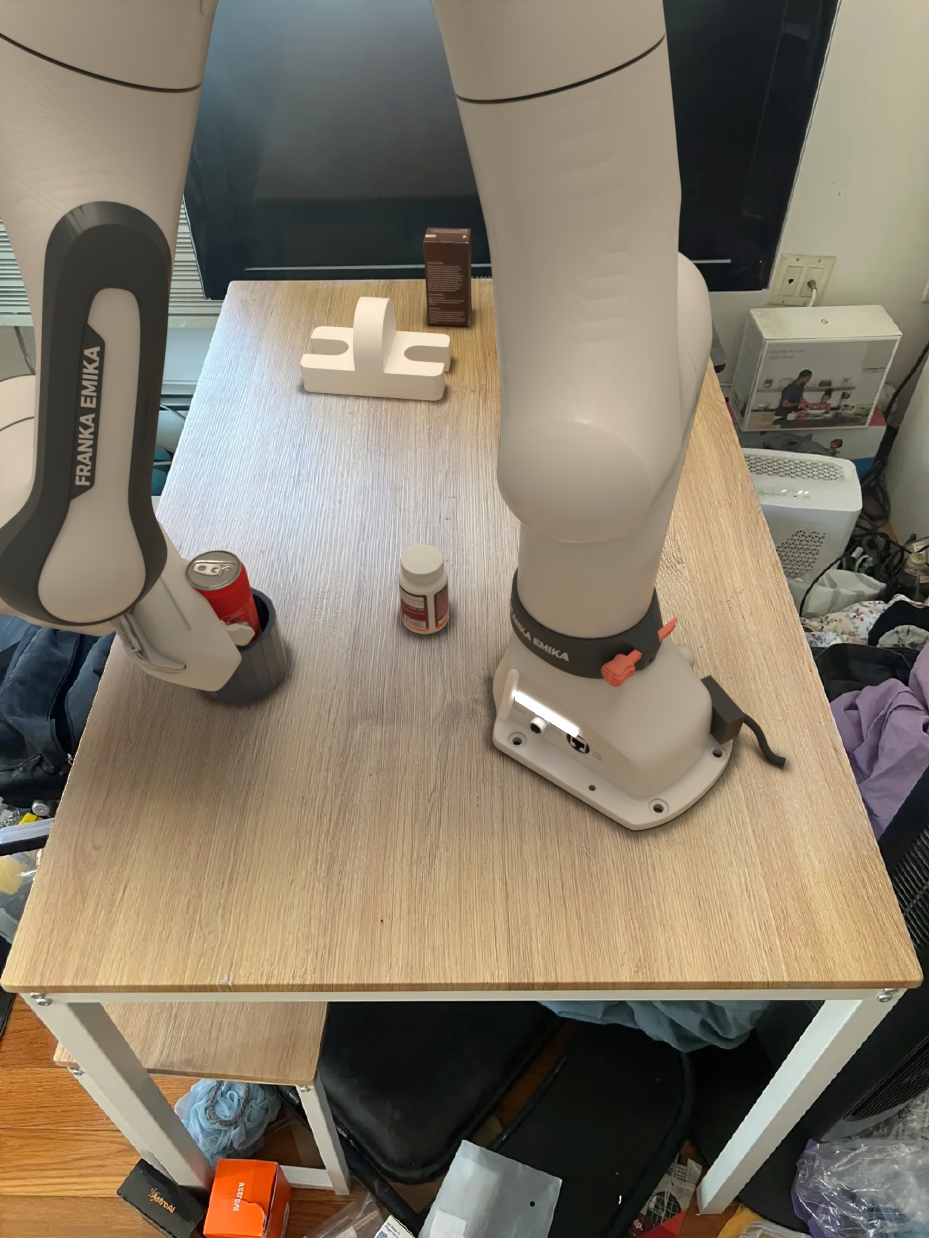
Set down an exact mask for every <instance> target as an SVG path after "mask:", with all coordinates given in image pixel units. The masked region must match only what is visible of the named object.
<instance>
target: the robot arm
mask: <svg viewBox="0 0 929 1238" xmlns="http://www.w3.org/2000/svg"><path fill="white" fill-rule="evenodd" d="M219 1H220V0H0V219H1V223H2V225H3V227H4V230H5V233H6V236H7V238H8V241H9V244H10V247H11V249H12V252H13V256H14V258H15V261H16V264H17V267H18V270H19V274H20V276H21V277H20V278H21V279H22V280H21V281H22V283H23V287H24V290H25V294H26V298H27V302H28V306H29V310H30V316H31V320H32V325H33V327H32V328H33V333H34V343H35V373H23V374H17V375H12V376H9V377H8V376H7V377H6V378H3V379H0V616H12V617H16V618H19V619H22V620H23V621H25V622H27V623H28V624H32V625H35V626H38V627H43V628H47V629H53V630H60V631H64V632H65V631H66V632H71V633H77V634H82V635H88V636H93V637H105V636H108V635H111V634H112V633H114V632H115V633H116V634H117V636H118V638H119V639H120V640H121V642H122V647H123V649H124V651H125V653H126V654H127V655H128V656H129V657H130V658H133V660H134V661H135V663H136V665H137V666H138V667H139V668H140V669H141V670H142V671H144V672H145V673H146V674H148V675H149V676H152V677H154V678H156V679H159V680H162V681H166V682H169V683H173V684H175V685H179V686H183V687H188V688H191V689H196V690H201V691H202V690H203V691H204V690H206V691H217V690H219V689H220V688H222V687H223V686H224V685H225V684H226V682H227V681H228V680H229V679H230V677H231V676H232V675H233V673H234V672H235V670H236V669H237V667H238V665H239V664H240V662H241V654H240V652H239V651H238V649H237V648H236V646H235V645H240V646H245V645H247V644H248V643H249V642H250V640H251V639H252V637H253V636H254V634H255V632H254V630H253V629H252V627H251V626H250V624H249V623H248V621H247V620H241V619H238V618H234V619H233V620H232V621H231V623H230V625H226V624H225V622H224V621H222V620H219V618H218V617H217V615H216V613H215V612H214V610H213V608H212V607H211V605H210V603H209V602H208V600H207V599H206V598H205V597H204V596H203V595H202V594H201V593H199V592H198V591H197V590H196V589H195V588H194V587H192V586H191V585H190V584H189V583H188V582H187V580H186V578H185V570H186V567H187V565H188V563H189V562H190V561H191V560H189V559H187V558H184V557H182V556H181V554H180V552H179V551H178V549H177V548H176V546H175V544H174V543H173V541H172V540H171V538H170V536H169V534H168V533H167V531H166V530H165V528H164V526H163V524H162V523H161V522H160V521H159V520H158V519H157V516H156V513H155V509H154V506H153V496H152V484H153V474H154V473H153V472H154V463H155V454H156V445H157V435H158V427H159V418H160V410H161V409H160V408H161V399H162V392H163V391H162V389H163V383H164V382H163V381H164V374H165V373H164V372H165V364H166V363H165V362H166V355H167V354H166V352H167V342H168V332H169V331H168V330H169V329H168V327H169V310H170V300H171V299H170V298H171V289H172V280H173V274H174V268H175V262H176V261H175V260H176V252H177V242H178V232H179V226H180V217H181V212H182V204H183V199H184V193H185V186H186V182H187V177H188V171H189V164H190V160H191V159H190V158H191V152H192V147H193V141H194V134H195V130H196V125H197V120H198V114H199V109H200V102H201V97H202V90H203V84H204V79H205V74H206V67H207V61H208V56H209V49H210V43H211V37H212V32H213V27H214V22H215V18H216V13H217V10H218V5H219ZM429 3H430V6H431V9H432V11H433V15H434V17H435V20H436V24H437V26H438V30H439V33H440V37H441V41H442V45H443V49H444V54H445V58H446V62H447V68H448V71H449V76H450V80H451V85H452V89H453V91H454V96H455V100H456V101H455V102H456V105H457V109H458V113H459V117H460V121H461V125H462V130H463V134H464V137H465V142H466V147H467V150H468V156H469V159H470V164H471V167H472V173H473V177H474V181H475V185H476V189H477V190H476V191H477V194H478V198H479V203H480V206H481V211H482V215H483V219H484V225H485V231H486V235H487V243H488V248H489V257H490V259H489V260H490V268H491V278H492V293H493V295H492V297H493V313H494V315H493V316H494V332H495V333H494V334H495V349H496V360H497V372H498V383H499V404H500V408H499V409H500V424H499V437H498V438H499V439H498V449H497V459H496V460H497V461H496V469H495V470H496V482H497V486H498V490H499V493H500V495H501V497H502V500H503V501H504V503H505V505H506V506H507V508H508V510H509V511H510V512H511V513H512V514H513V515H514V516H515V518H516V519H517V520H519V521H520V523H519V524H520V525H519V527H520V528H519V543H518V558H517V559H518V560H517V567H516V569H515V570H514V571H515V572H514V573H513V577H512V581H511V590H510V598H509V603H508V605H509V619H510V624H511V629H510V633H509V634H510V635H509V639H508V643H507V645H506V648H505V652H504V653H503V656H502V659H501V660H500V661H499V663H498V665H497V667H496V670H495V673H494V676H493V681H492V695H493V702H494V705H495V710H496V718H495V721H494V726H493V730H492V735H491V739H492V743H493V746H494V747H495V748H496V749H497V750H499V751H500V752H502V753H504V754H505V755H507V756H509V757H510V758H512V759H513V760H515V761H517V762H518V763H520V764H522V765H524V766H525V767H527V768H528V769H529V770H531V771H533V772H535V773H536V774H539V775H540V776H541V777H543V778H544V779H546V780H548V781H549V782H552V783H553V784H554V785H555V786H558V787H559V788H561V789H562V790H564V791H566V792H568V793H569V794H570V795H572V796H574V797H575V798H577V799H579V800H580V801H582V802H583V803H585V804H587V805H589V806H590V807H591V808H593V809H595V810H597V811H598V812H600V813H601V814H603V815H605V816H606V817H608V818H610V819H611V820H613V821H615V822H617V823H618V824H620V825H621V826H622V827H625V828H627V829H629V830H631V831H641V830H648V829H652V828H655V827H658V826H661V825H663V824H666V823H668V822H671V821H672V820H673V819H676V818H677V817H678V816H680V815H682V814H683V813H684V812H686V811H688V810H689V809H690V808H691V807H692V806H694V805H695V804H696V803H697V802H698V801H699V800H700V799H702V797H703V796H705V795H706V794H707V792H708V791H709V790H710V789H711V788H712V787H713V786H714V785H715V783H716V782H717V781H718V780H719V779H720V777H721V776H722V774H723V772H724V771H725V769H726V767H727V765H728V763H729V761H730V757H731V754H732V748H733V741H734V739H736V738H738V737H739V735H740V732H741V730H742V727H743V725H746V727H748V728H749V729H750V730H751V731H752V733H753V734H754V736H755V739H756V741H757V743H758V746H759V748H760V750H761V753H762V754H763V755H764V757H765V758H766V759H767V760H768V761H769V762H770V763H771V764H774V765H776V766H781V767H784V766H785V764H786V761H787V758H786V757H783V756H780V755H779V756H778V755H776V754H775V753H774V752H773V750H772V749H771V748H770V745H769V742H768V740H767V738H766V735H765V732H764V731H763V729H762V728H761V726H760V725H759V724H758V722H756V721H755V719H753V718H752V717H751V716H750V715H748V714H747V713H746V712H745V711H743V710H742V709H741V708H740V707H739V705H738V704H737V703H736V702H735V701H734V700H733V699H732V697H730V695H729V694H728V693H727V692H726V691H725V689H723V687H722V686H721V685H720V684H719V683H718V682H717V680H716V679H715V678H714V677H713V676H712V675H711V674H709V675H706V676H705V677H702V678H700V677H699V676H698V674H697V673H696V672H695V670H694V668H693V667H694V665H695V664H696V658H695V654H694V653H693V651H692V650H691V648H689V646H687V645H685V644H678V645H676V643H675V642H674V641H673V639H672V638H671V636H670V635H671V634H672V632H673V631H674V630H675V628H677V627H676V626H677V624H676V623H677V622H678V620H679V619H678V617H677V616H676V617H673V618H672V619H671V620H670V621H669V622H667V623H666V624H665V625H664V622H663V617H662V611H661V606H660V601H659V596H658V591H657V588H656V582H657V577H658V574H659V569H660V564H661V560H662V556H663V552H664V547H665V543H666V538H667V533H668V529H669V525H670V521H671V518H672V514H673V509H674V505H675V501H676V496H677V494H678V493H677V492H678V489H679V486H680V481H681V476H682V472H683V468H684V463H685V459H686V455H687V452H688V447H689V443H690V439H691V435H692V432H693V431H692V430H693V426H694V422H695V419H696V414H697V410H698V405H699V402H700V397H701V394H702V389H703V386H704V382H705V376H706V373H707V368H708V365H709V360H710V357H711V351H712V347H713V318H712V316H713V315H712V307H711V299H710V294H709V288H708V286H707V283H706V280H705V279H704V277H703V275H702V273H701V271H700V270H699V269H698V268H697V266H696V265H695V264H694V263H693V262H692V260H690V259H689V258H688V257H687V256H685V255H684V254H683V253H681V252H680V251H679V235H680V234H679V233H680V232H679V231H680V215H681V204H682V184H681V183H682V182H681V176H680V165H679V157H678V156H679V155H678V143H677V132H676V122H675V110H674V109H675V108H674V100H673V90H672V81H671V79H672V78H671V69H670V59H669V49H668V39H667V30H666V29H667V27H666V20H665V19H666V18H665V12H664V3H663V0H429ZM188 580H189V579H188ZM189 582H190V581H189ZM190 583H191V582H190ZM516 742H517V743H520V744H518V745H517V744H514V743H516ZM715 755H717V756H719V757H717V756H715ZM655 809H658V810H660V811H661V812H657V811H655Z"/></svg>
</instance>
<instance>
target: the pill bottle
mask: <svg viewBox="0 0 929 1238" xmlns="http://www.w3.org/2000/svg"><path fill="white" fill-rule="evenodd" d="M397 581H398V590H399V591H398V592H399V600H400V610H401V620H402V623H403V624H404V626H405V628H407V629H408V630H409V631H411V632H413V633H416V634H418V635H429V634H434V633H437V632H439V631H441V630H442V629H443V628H444V627H445V626H446V625H447V623H448V621H449V618H450V605H449V603H450V602H449V574H448V571H447V568H446V566H445V560H444V555H443V553H442V551H441V550H440V549H439V548H438V547H436V546H434V545H433V544H428V543H419V544H414V545H412V546H409V547H408V548H406V549H405V550H404V551H403V552H402V554H401V557H400V570H399V572H398V578H397Z"/></svg>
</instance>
